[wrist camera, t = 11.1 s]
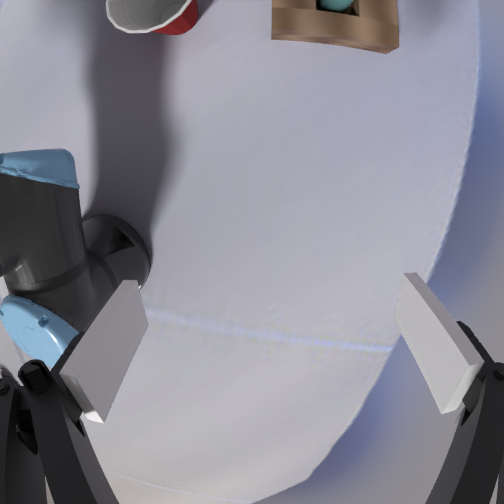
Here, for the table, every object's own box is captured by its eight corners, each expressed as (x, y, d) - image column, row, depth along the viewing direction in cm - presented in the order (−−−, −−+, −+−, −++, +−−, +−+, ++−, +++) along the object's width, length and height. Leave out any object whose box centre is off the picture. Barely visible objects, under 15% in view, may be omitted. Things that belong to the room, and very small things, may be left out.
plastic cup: (131, 44, 33) (88, 26, 22) (161, -15, 29) (129, -48, 18) (196, 61, 34) (169, 40, 23) (228, -2, 30) (213, -40, 19)
